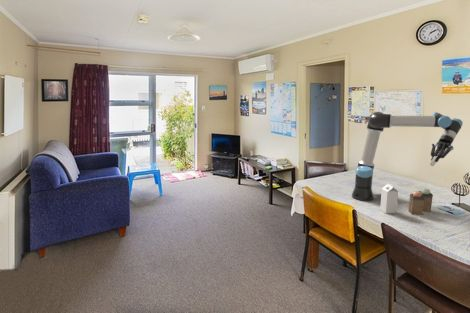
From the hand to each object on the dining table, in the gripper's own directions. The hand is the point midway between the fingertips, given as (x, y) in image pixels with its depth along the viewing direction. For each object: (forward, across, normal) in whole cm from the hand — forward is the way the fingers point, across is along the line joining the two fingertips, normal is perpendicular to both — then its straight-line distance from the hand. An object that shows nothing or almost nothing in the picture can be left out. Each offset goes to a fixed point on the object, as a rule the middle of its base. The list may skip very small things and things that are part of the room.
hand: (431, 164), depth 193 cm
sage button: (+19, -1, -10) cm, 21 cm away
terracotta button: (+26, -1, -3) cm, 26 cm away
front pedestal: (+33, -1, -10) cm, 34 cm away
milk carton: (+42, +10, -1) cm, 43 cm away
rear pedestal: (+26, -1, -17) cm, 31 cm away
